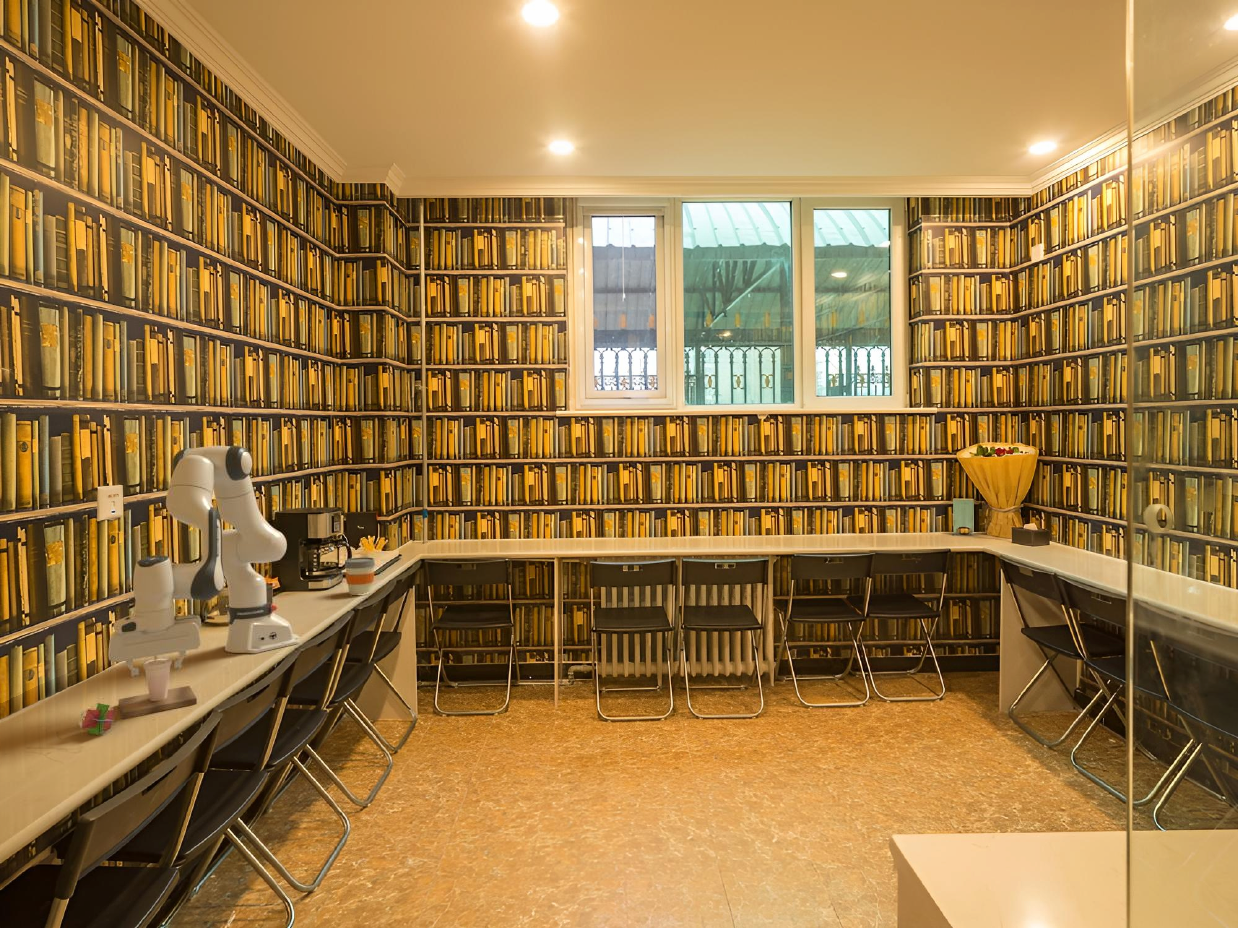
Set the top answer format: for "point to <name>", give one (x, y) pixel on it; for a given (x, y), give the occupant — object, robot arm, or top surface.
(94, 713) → the geometric puzzle
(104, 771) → the top surface
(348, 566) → the reusable coffee cup
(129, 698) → the serving board
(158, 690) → the smoothie
